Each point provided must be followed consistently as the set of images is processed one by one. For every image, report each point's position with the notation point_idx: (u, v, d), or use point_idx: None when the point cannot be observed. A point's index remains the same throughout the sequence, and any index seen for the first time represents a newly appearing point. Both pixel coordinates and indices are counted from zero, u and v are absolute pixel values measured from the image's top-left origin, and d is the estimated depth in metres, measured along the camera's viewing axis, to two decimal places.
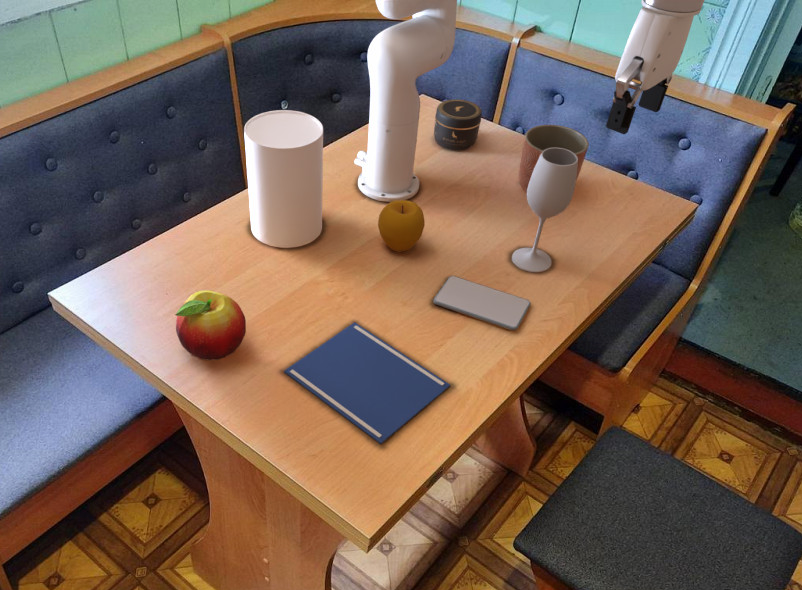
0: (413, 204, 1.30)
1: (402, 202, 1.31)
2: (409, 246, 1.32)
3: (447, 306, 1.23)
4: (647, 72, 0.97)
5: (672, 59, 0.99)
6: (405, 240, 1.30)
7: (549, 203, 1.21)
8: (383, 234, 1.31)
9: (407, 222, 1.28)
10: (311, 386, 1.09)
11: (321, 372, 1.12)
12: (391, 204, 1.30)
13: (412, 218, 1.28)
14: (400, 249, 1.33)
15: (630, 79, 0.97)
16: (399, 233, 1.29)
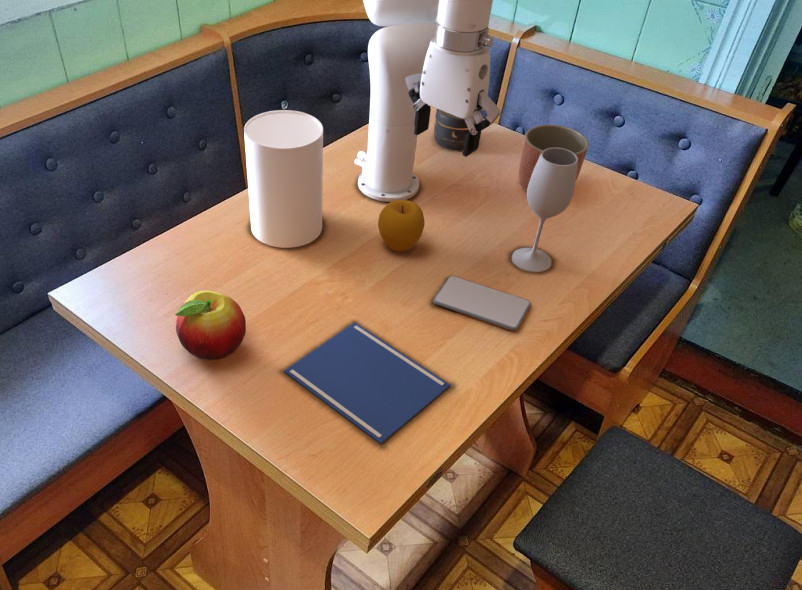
0: (413, 204, 1.30)
1: (402, 202, 1.31)
2: (409, 246, 1.32)
3: (447, 306, 1.23)
4: None
5: (447, 93, 1.11)
6: (405, 240, 1.30)
7: (549, 203, 1.21)
8: (383, 234, 1.31)
9: (407, 222, 1.28)
10: (311, 386, 1.09)
11: (321, 372, 1.12)
12: (391, 204, 1.30)
13: (412, 218, 1.28)
14: (400, 249, 1.33)
15: (412, 79, 1.16)
16: (399, 233, 1.29)
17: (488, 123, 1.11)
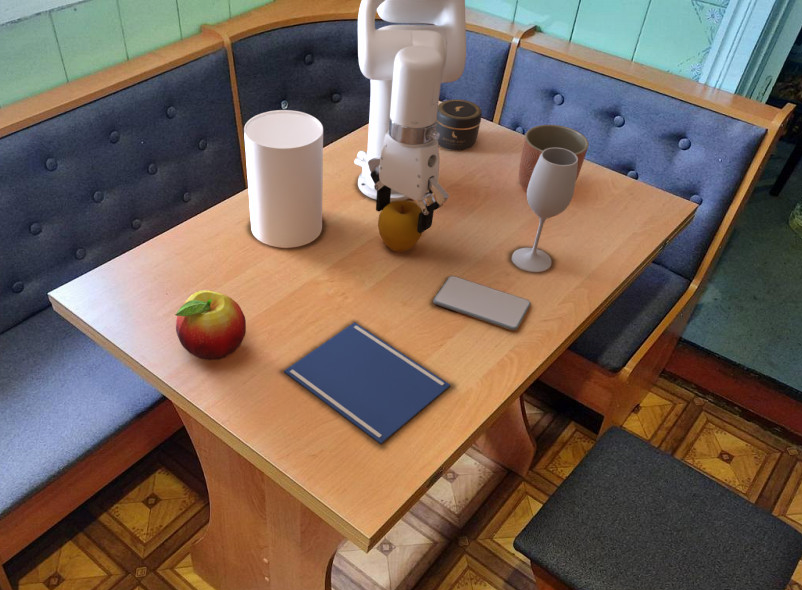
0: (413, 204, 1.30)
1: (402, 203, 1.31)
2: (409, 246, 1.32)
3: (447, 306, 1.23)
4: None
5: (401, 178, 1.23)
6: (405, 240, 1.30)
7: (549, 203, 1.21)
8: (383, 234, 1.31)
9: (407, 222, 1.28)
10: (311, 386, 1.09)
11: (321, 372, 1.12)
12: (391, 204, 1.30)
13: (412, 218, 1.28)
14: (400, 249, 1.33)
15: (373, 163, 1.28)
16: (399, 233, 1.29)
17: (438, 205, 1.22)
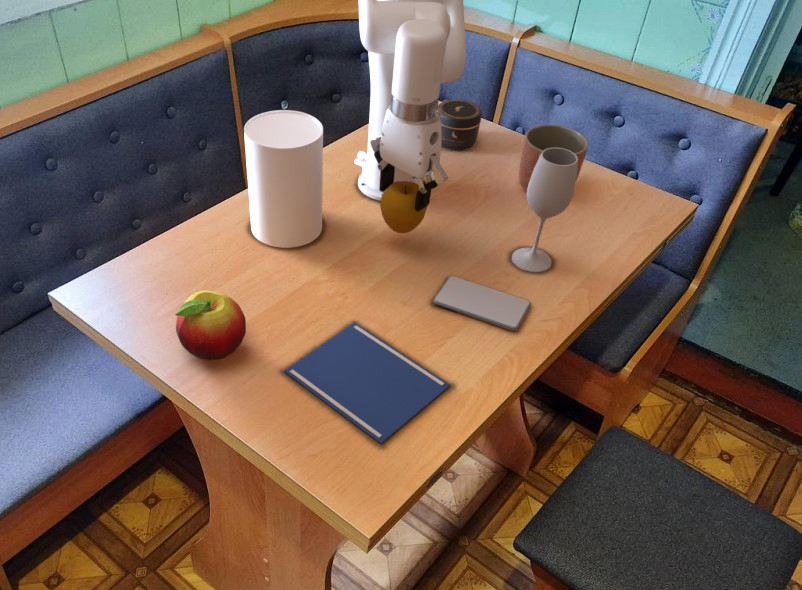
0: (416, 185, 1.29)
1: (405, 183, 1.30)
2: (411, 228, 1.31)
3: (447, 306, 1.23)
4: None
5: (402, 155, 1.21)
6: (408, 222, 1.29)
7: (549, 203, 1.21)
8: (385, 215, 1.29)
9: (410, 203, 1.27)
10: (311, 386, 1.09)
11: (321, 372, 1.12)
12: (394, 185, 1.29)
13: (415, 198, 1.27)
14: (402, 231, 1.31)
15: (376, 142, 1.26)
16: (402, 214, 1.27)
17: (435, 184, 1.21)
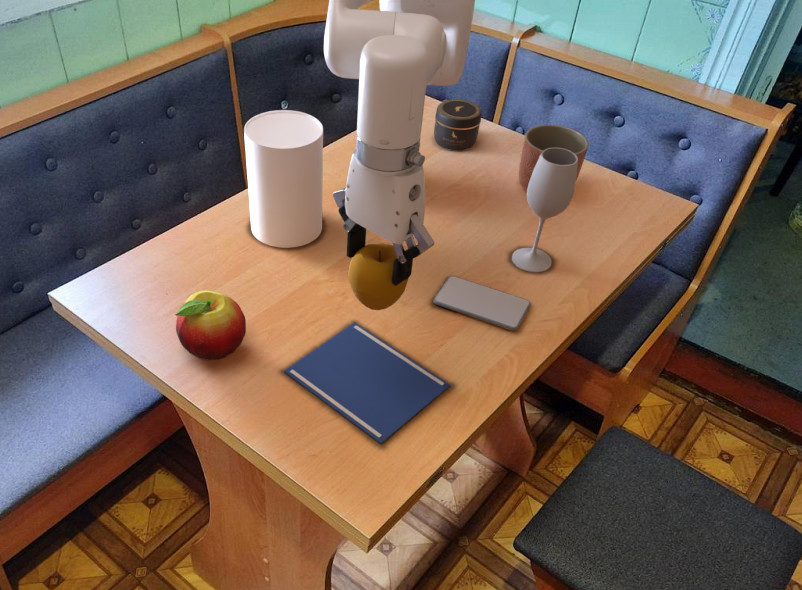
0: (394, 249, 0.99)
1: (380, 247, 1.00)
2: (389, 304, 1.01)
3: (447, 306, 1.23)
4: None
5: (374, 214, 0.91)
6: (383, 297, 0.98)
7: (549, 203, 1.21)
8: (354, 288, 0.99)
9: (385, 273, 0.96)
10: (311, 386, 1.09)
11: (321, 372, 1.12)
12: (365, 249, 0.99)
13: None
14: (377, 307, 1.01)
15: (340, 195, 0.96)
16: (376, 288, 0.97)
17: (418, 252, 0.91)
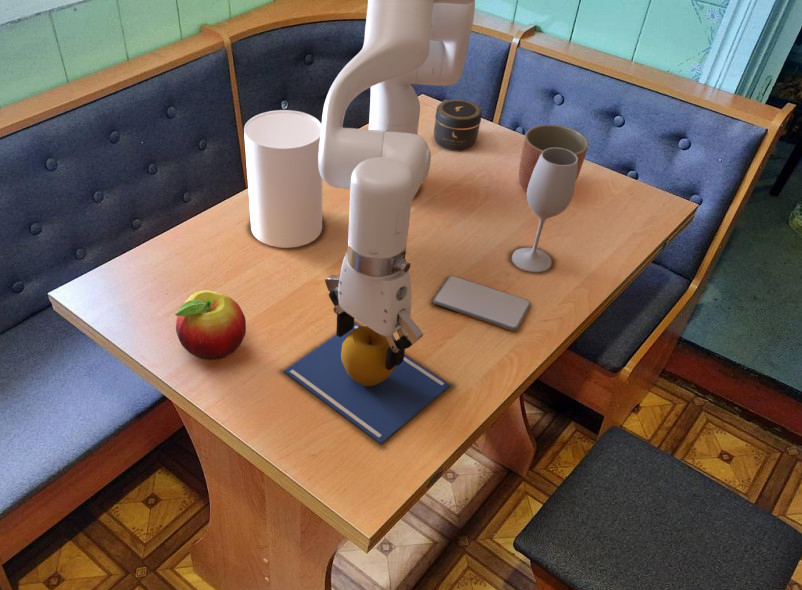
0: None
1: (370, 329, 1.07)
2: (379, 382, 1.08)
3: (447, 306, 1.23)
4: None
5: (364, 309, 0.98)
6: (374, 377, 1.06)
7: (549, 203, 1.21)
8: (347, 369, 1.07)
9: (375, 357, 1.04)
10: (311, 386, 1.09)
11: (321, 372, 1.12)
12: (356, 332, 1.06)
13: (382, 352, 1.04)
14: (368, 385, 1.08)
15: (332, 283, 1.04)
16: (366, 370, 1.04)
17: (409, 344, 0.98)
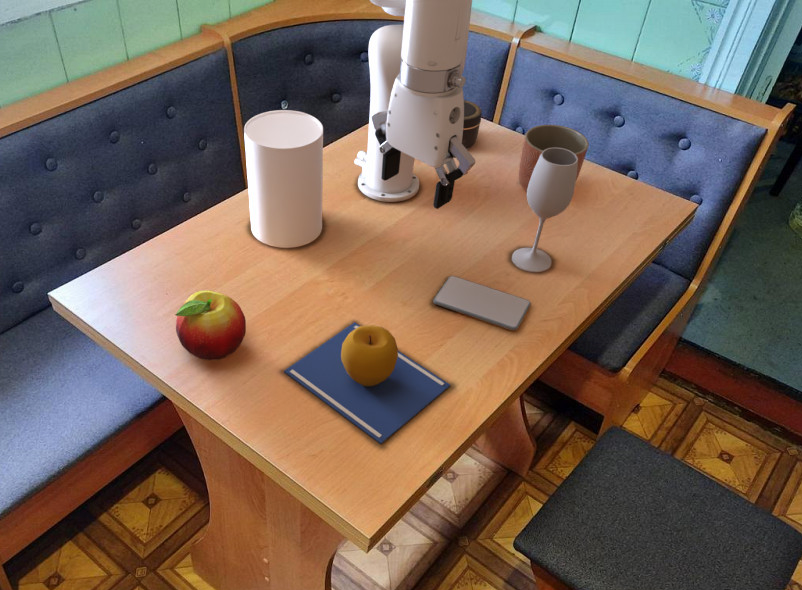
0: (383, 332, 1.06)
1: (370, 329, 1.07)
2: (379, 382, 1.08)
3: (447, 306, 1.23)
4: None
5: (414, 138, 0.96)
6: (374, 377, 1.06)
7: (549, 203, 1.21)
8: (347, 369, 1.07)
9: (375, 357, 1.04)
10: (311, 386, 1.09)
11: (321, 372, 1.12)
12: (356, 332, 1.06)
13: (382, 352, 1.04)
14: (368, 385, 1.08)
15: (379, 119, 1.01)
16: (366, 370, 1.04)
17: (461, 173, 0.95)
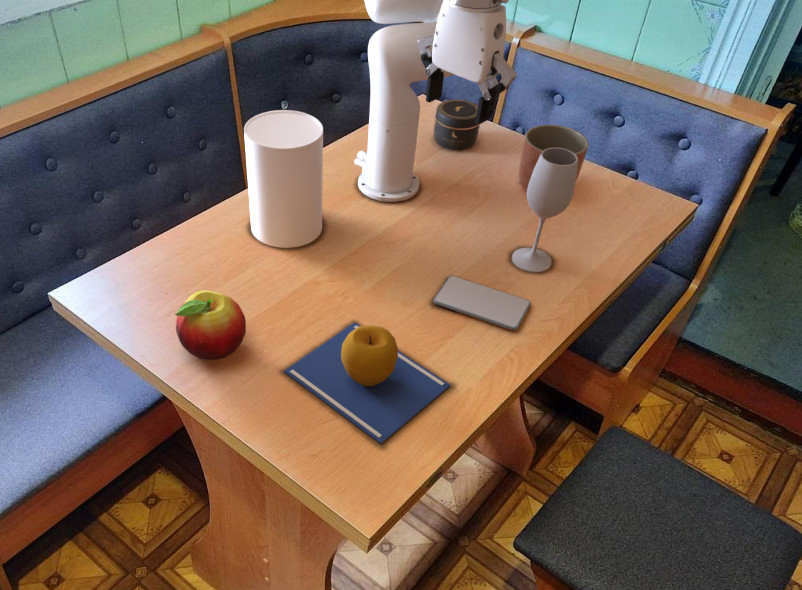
0: (383, 332, 1.06)
1: (370, 329, 1.07)
2: (379, 382, 1.08)
3: (447, 306, 1.23)
4: None
5: (460, 55, 1.05)
6: (374, 377, 1.06)
7: (549, 203, 1.21)
8: (347, 369, 1.07)
9: (375, 357, 1.04)
10: (311, 386, 1.09)
11: (321, 372, 1.12)
12: (356, 332, 1.06)
13: (382, 352, 1.04)
14: (368, 385, 1.08)
15: (425, 42, 1.10)
16: (366, 370, 1.04)
17: (503, 87, 1.05)
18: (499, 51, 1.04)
